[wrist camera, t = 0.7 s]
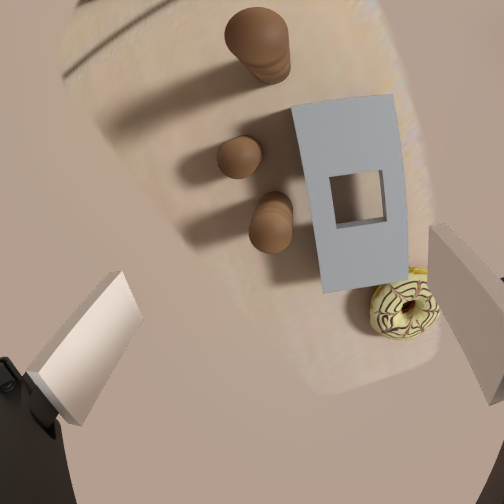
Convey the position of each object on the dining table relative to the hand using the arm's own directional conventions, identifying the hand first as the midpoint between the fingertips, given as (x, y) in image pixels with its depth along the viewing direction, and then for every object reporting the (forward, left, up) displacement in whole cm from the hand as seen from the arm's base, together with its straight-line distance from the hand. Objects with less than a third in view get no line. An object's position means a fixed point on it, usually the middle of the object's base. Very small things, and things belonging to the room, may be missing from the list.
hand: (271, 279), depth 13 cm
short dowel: (-3, -4, -24) cm, 25 cm away
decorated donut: (+19, +13, -25) cm, 34 cm away
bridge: (+3, +7, -24) cm, 25 cm away
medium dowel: (+4, -2, -24) cm, 25 cm away
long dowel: (-12, +1, -24) cm, 27 cm away
